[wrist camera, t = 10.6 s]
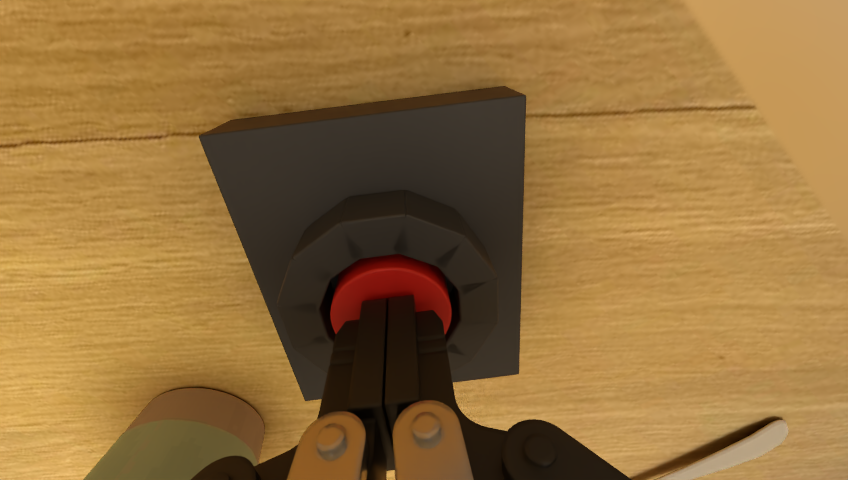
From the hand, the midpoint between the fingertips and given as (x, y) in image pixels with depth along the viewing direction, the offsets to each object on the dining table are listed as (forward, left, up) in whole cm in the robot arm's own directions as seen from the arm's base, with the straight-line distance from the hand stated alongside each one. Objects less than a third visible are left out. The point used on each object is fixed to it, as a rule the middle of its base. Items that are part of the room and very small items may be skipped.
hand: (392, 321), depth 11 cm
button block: (0, 0, -4) cm, 4 cm away
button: (0, 0, -2) cm, 2 cm away
